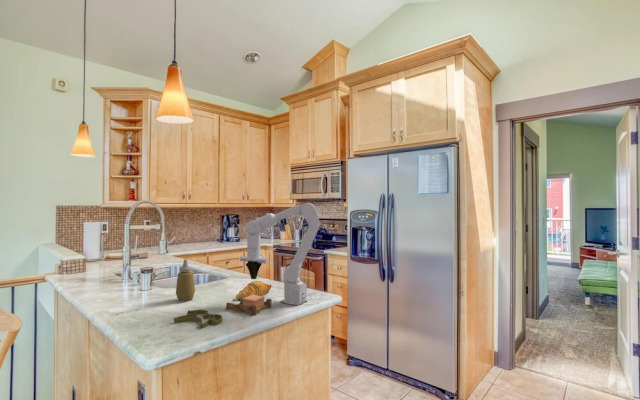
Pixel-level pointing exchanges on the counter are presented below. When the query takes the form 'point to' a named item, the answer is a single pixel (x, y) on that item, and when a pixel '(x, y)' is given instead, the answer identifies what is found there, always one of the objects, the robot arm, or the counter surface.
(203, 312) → the cookie cutter
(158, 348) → the counter surface
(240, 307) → the brown wooden frame
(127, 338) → the counter surface
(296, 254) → the robot arm
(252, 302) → the peach rectangular block
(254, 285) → the croissant
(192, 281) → the squeeze bottle
